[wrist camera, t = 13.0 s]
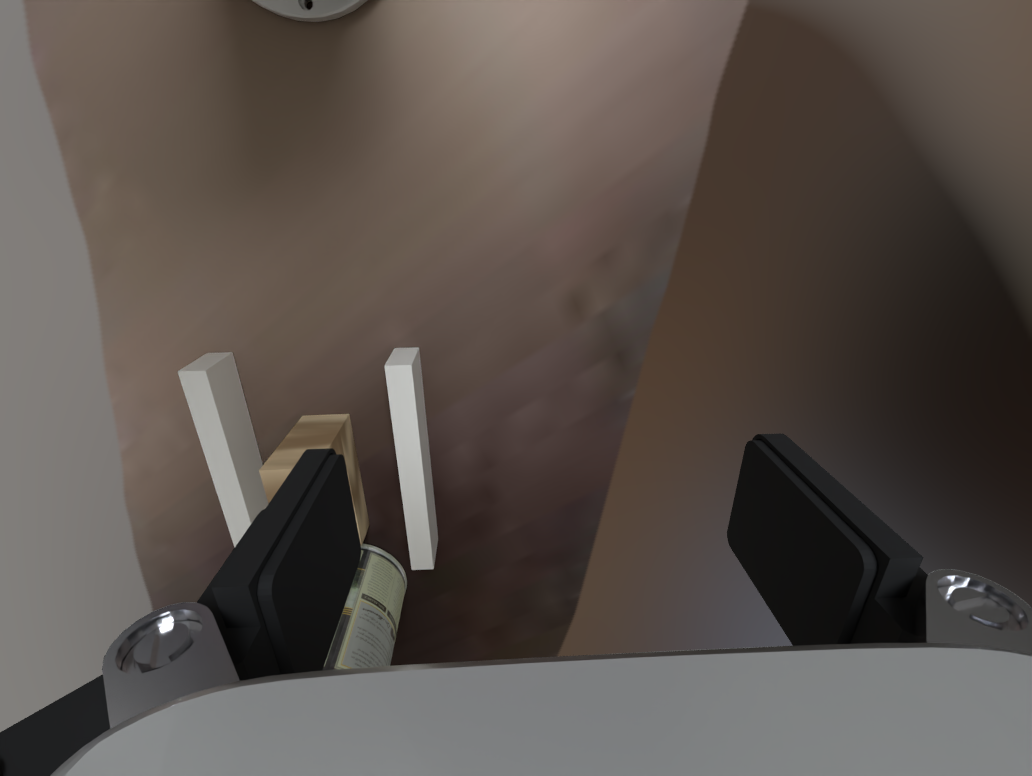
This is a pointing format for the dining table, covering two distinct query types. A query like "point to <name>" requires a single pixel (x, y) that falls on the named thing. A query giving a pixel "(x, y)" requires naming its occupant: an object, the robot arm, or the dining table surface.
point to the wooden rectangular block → (318, 436)
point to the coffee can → (369, 613)
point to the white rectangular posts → (239, 459)
